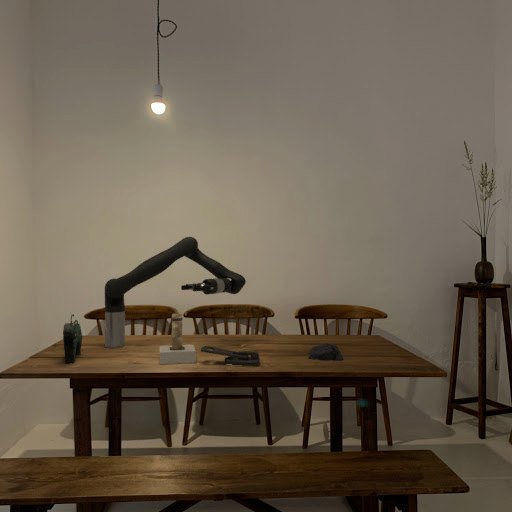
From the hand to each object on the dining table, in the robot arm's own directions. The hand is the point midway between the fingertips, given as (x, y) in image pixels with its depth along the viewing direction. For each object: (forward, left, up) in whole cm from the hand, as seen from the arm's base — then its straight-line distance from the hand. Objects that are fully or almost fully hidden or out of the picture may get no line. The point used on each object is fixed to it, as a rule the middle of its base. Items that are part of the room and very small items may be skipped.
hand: (187, 288), depth 220 cm
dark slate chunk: (+62, -17, -31) cm, 71 cm away
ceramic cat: (-50, -4, -30) cm, 59 cm away
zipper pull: (+17, -24, -30) cm, 42 cm away
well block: (-5, -14, -30) cm, 33 cm away
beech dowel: (-5, -14, -30) cm, 33 cm away
